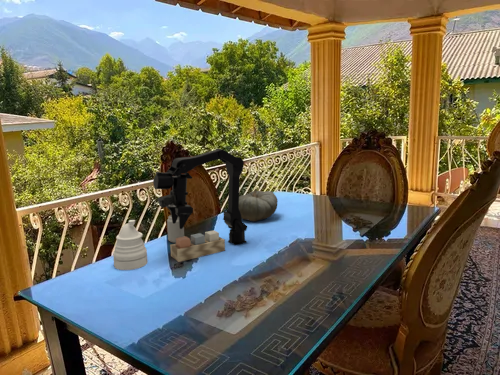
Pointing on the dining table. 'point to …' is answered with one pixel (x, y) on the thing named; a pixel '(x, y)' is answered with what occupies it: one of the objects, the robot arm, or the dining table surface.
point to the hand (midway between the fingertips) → (177, 226)
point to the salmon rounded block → (182, 242)
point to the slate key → (197, 239)
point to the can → (174, 230)
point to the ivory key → (211, 236)
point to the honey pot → (129, 248)
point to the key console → (197, 250)
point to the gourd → (257, 205)
